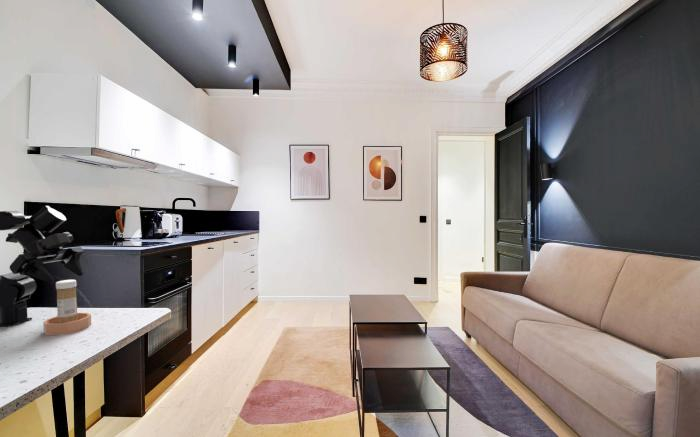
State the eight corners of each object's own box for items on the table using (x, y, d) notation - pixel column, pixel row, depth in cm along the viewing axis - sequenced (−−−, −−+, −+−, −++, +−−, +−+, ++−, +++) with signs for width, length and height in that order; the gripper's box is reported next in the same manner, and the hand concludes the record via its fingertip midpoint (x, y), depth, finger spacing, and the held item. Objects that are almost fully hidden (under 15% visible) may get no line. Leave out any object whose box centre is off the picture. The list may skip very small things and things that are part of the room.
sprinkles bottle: (77, 322, 100) (76, 278, 99) (77, 326, 96) (76, 280, 96) (57, 325, 97) (56, 280, 96) (56, 330, 93) (55, 283, 93)
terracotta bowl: (34, 334, 92) (33, 323, 92) (68, 321, 102) (68, 312, 102) (67, 335, 91) (67, 324, 91) (99, 322, 101) (98, 313, 101)
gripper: (16, 226, 92) (53, 265, 91) (78, 223, 111) (109, 255, 110) (-7, 253, 93) (29, 293, 92) (58, 246, 112) (89, 279, 111)
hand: (68, 278), depth 101 cm, fingers open, 9 cm apart
